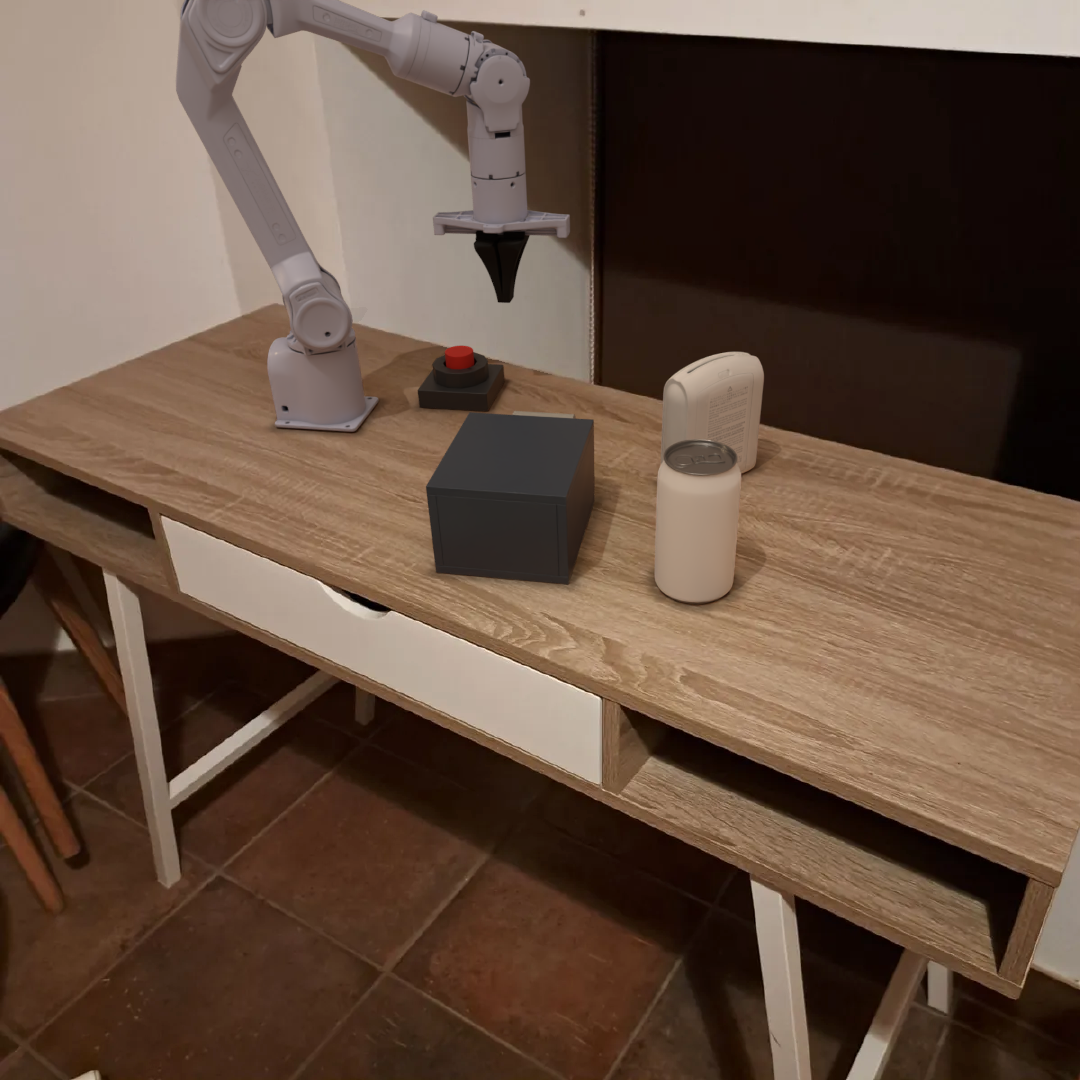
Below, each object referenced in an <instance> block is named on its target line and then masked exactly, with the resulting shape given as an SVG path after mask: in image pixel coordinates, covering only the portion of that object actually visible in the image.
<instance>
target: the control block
mask: <svg viewBox="0 0 1080 1080" xmlns="http://www.w3.org/2000/svg"><path fill="white" fill-rule="evenodd" d="M473 353H474V366H472V367H469V368H465V369H450V368H447V367H446V359H445V354H443V355H441V356H438V357H436V358H435V359H434V360H433V362H432V364H431V366H432V369H431V371H429V373H428V375H427V376H426V378H425V379H424V380H423V382H422V383H421V385H420V386H419V387H418V389H417V396H418V397H417V398H418V407H419V408H420V409H437V410H438V409H439V410H453V411H454V410H456V411H469V412H489V410H490V408H491V406H492V405H493V404H494V402H495V399H496V398H497V396H498V394H499V392H500V390H501V389H502V387H503V386H504V383H505V368H504V367H505V366H504V364H497V363H495V364H494V363H489V360H488V359H487V357H486V356H485V355H484V354H481V353H478V352H474V351H473Z"/></svg>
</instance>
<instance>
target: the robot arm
mask: <svg viewBox="0 0 1080 1080" xmlns="http://www.w3.org/2000/svg"><path fill="white" fill-rule="evenodd" d="M438 19H439V18H438V15H437V14H435V13H433V12H430V11H427V10H425V9H424V10H422V11H421V14H420V15H419V14H416V13H414V12H408V13H406V14H404V15H402V16H401V17H399V18H397V19H395V20H392V21H391V20H389V19H385V18H383V17H381V16H378V15H376V14H374V13H371V12H369V11H367V10H364V9H361V8H359V7H356V6H354V5H351V4H349V3H346V2H344V1H342V0H183V2H182V5H181V8H180V17H179V31H178V44H177V45H178V46H177V56H176V57H177V60H176V73H175V92H176V95H177V97H178V101H179V102H180V104H181V107H182V108H183V109H184V112H185V113H186V115H187V117H188V119H189V121H190V122H191V124H192V126H193V128H194V130H195V132H196V134H197V135H198V137H199V140H200V141H201V143H202V145H203V147H204V149H205V151H206V152H207V154H208V156H209V158H210V160H211V161H212V163H213V165H214V167H215V169H216V170H217V172H218V174H219V176H220V178H221V180H222V182H223V184H224V185H225V188H226V189H227V191H228V193H229V194H230V196H231V198H232V200H233V202H234V204H235V205H236V208H237V209H238V212H239V213H240V215H241V217H242V218H243V220H244V222H245V224H246V226H247V228H248V230H249V232H250V234H251V235H252V237H253V239H254V241H255V243H256V244H257V247H258V248H259V250H260V252H261V254H262V256H263V257H264V259H265V261H266V263H267V265H268V267H269V269H270V271H271V273H272V275H273V277H274V279H275V282H276V284H277V287H278V289H279V290H280V293H281V298H282V302H283V305H284V307H285V310H286V312H287V315H288V319H289V328H290V331H289V334H287V336H283V337H277V338H276V339H273V341H272V343H271V344H270V347H269V349H268V352H267V363H266V367H267V376H268V381H269V385H270V391H271V397H272V400H273V401H272V402H273V405H274V410H275V416H276V419H275V422H274V426H275V427H276V428H284V429H285V428H286V429H300V430H316V431H332V432H348V433H353V432H356V431H357V430H358V429H359V428H360V426H361V425H362V424H363V423H364V421H365V420H366V419H367V417H368V416H369V415H370V413H372V411H373V409H374V408H375V407H376V406H377V404H378V403H379V397H377V396H366V395H365V389H364V384H363V377H362V370H361V364H360V357H359V350H358V343H357V337H356V331H355V329H354V328H353V320H354V319H353V314H352V311H351V309H350V307H349V305H348V304H347V302H346V301H345V299H344V297H343V295H342V290H341V286H340V283H339V281H338V280H337V278H336V276H335V275H334V274H332V273H331V272H329V271H328V270H327V269H325V268H324V267H323V266H322V265H321V264H320V263H319V261H318V260H317V258H316V256H315V254H314V252H313V250H312V248H311V246H310V245H309V243H308V241H307V239H306V238H305V236H304V234H303V232H302V230H301V227H300V226H299V224H298V222H297V220H296V218H295V215H294V213H293V212H292V210H291V208H290V206H289V204H288V202H287V200H286V198H285V196H284V194H283V192H282V189H281V188H280V187H279V185H278V184H279V183H277V181H276V179H275V176H274V175H273V172H272V171H271V168H270V167H269V164H268V163H267V161H266V159H265V157H264V155H263V152H262V151H261V149H260V147H259V145H258V143H257V142H256V139H255V137H254V135H253V133H252V131H251V130H250V127H249V125H248V124H247V122H246V120H245V118H244V116H243V114H242V112H241V110H240V108H239V106H238V103H237V102H236V99H235V98H234V96H233V93H234V90H235V87H236V84H237V81H238V79H239V75H240V74H241V73H240V72H241V70H242V67H243V66H242V64H243V63H244V61H245V60H246V59H247V58H248V57H249V56H250V55H251V53H252V52H253V51H254V49H255V48H256V47H257V46H258V44H259V43H260V41H261V40H262V38H263V37H264V34H265V33H266V30H268V32H269V33H270V34H271V35H272V37H273V38H274V39H278V38H281V37H285V36H288V35H292V34H294V33H298V32H303V31H304V32H309V33H310V34H311V33H312V34H314V35H317V36H321V37H324V38H326V39H330V40H332V41H336V42H338V43H342V44H345V45H348V46H351V47H355V48H357V49H361V50H364V51H367V52H370V53H372V54H376V55H379V56H382V57H384V59H385V60H386V62H387V64H388V67H389V69H390V71H391V73H392V75H393V76H394V77H397V78H399V79H403V80H405V81H408V82H411V83H414V84H417V85H419V86H422V87H425V88H428V89H431V90H433V91H436V92H438V93H439V92H440V93H442V94H445V95H448V96H451V97H454V98H457V97H462V96H463V97H464V98H465V99H466V101H465V102H466V114H467V127H466V131H467V143H468V156H469V169H470V170H469V171H470V184H471V186H470V187H471V196H472V197H471V199H472V210H459V211H438V212H437V213H436V214H434V216H433V217H432V224H433V235H434V236H444V235H446V234H453V235H454V234H455V235H456V234H457V235H459V234H461V235H475V241H474V242H473V249H474V252H475V253H476V254H477V256H478V257H479V259H480V260H481V262H482V263H483V265H484V267H485V269H486V271H487V273H488V275H489V278H490V280H491V283H492V287H493V290H494V293H495V296H496V300H497V303H500V304H501V303H502V304H510V303H511V302H512V301H513V299H514V297H515V286H516V280H517V276H518V271H519V266H520V264H521V261H522V257H523V254H524V251H525V248H526V247H527V244H528V241H529V239H530V236H543V237H544V236H545V237H547V236H548V237H553V236H554V237H556V238H558V239H567V238H568V237H569V235H570V233H571V218H570V217H571V215H570V214H563V213H552V212H543V211H538V210H531V209H529V210H528V197H527V196H528V194H527V172H526V151H525V150H526V149H525V148H526V147H525V128H524V127H525V126H524V124H523V103H524V102H525V101H526V98H527V96H528V94H529V91H530V86H531V79H530V78H529V77H527V76H528V75H527V71H526V67H525V65H524V63H523V61H522V60H521V59H520V58H519V56H517V54H516V53H514V52H513V51H510V50H509V49H506V48H504V47H502V46H500V45H498V44H495V43H493V42H492V41H491V40H490V39H484V38H485V36H484V34H482V33H479V32H477V31H476V30H472V31H471V32H470V34H469V33H466V32H463V31H461V30H458V29H455V28H453V27H451V26H448V25H445V24H442V23H440V22H437V21H438Z"/></svg>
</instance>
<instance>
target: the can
mask: <svg viewBox="0 0 1080 1080" xmlns="http://www.w3.org/2000/svg"><path fill="white" fill-rule="evenodd" d="M737 459H738V457H737V454H736V452H735V451H734V450H733V449H732V448H731V447H729V446H727V445H725V444H723V443H720V442H717V441H713V440H706V439H691V440H684V441H680V442H677V443H675V444H673V445H671V446H669V447H668V448H667V449H666V450H665V452H664V461H663V462H662V464H661V463H660V465H659V468H658V471H657V477H656V479H657V480H656V502H655V503H656V506H655V535H654V536H655V540H654V581H655V584H656V586H657V587H658V589H659V590H660V591H661V592H662V593H663V594H664V595H665V596H667V597H668V598H669V599H671V600H674V601H675V602H680V603H684V604H687V605H688V604H690V605H702V604H703V605H704V604H709V603H713V602H715V601H717V600H720V599H721V598H723V597H725V595H727V594H728V592H730V591H731V589H732V587H733V583H734V577H735V565H736V555H737V543H738V531H739V518H740V505H741V504H740V503H741V493H742V492H741V491H742V488H741V487H742V474H741V472H740V469H739V467H738V464H737Z"/></svg>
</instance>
